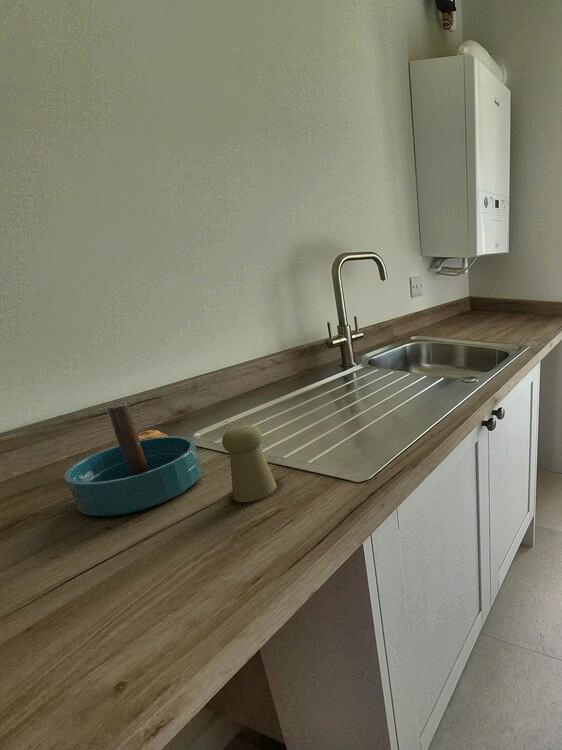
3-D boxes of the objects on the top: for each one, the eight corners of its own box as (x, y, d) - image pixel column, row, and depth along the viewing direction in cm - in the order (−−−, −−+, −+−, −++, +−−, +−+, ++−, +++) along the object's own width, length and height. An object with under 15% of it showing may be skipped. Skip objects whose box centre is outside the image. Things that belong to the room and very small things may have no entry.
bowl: (55, 507, 62) (41, 472, 60) (166, 460, 75) (157, 431, 73) (117, 530, 57) (103, 493, 55) (224, 475, 70) (215, 444, 68)
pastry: (173, 459, 76) (167, 441, 74) (124, 472, 71) (117, 453, 70) (171, 442, 82) (166, 425, 81) (126, 453, 78) (120, 435, 77)
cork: (270, 476, 70) (257, 417, 66) (281, 491, 66) (268, 428, 62) (228, 491, 66) (212, 428, 62) (238, 507, 62) (221, 441, 58)
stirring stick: (130, 488, 65) (102, 407, 61) (147, 480, 67) (121, 401, 63) (140, 491, 64) (111, 409, 60) (157, 483, 66) (131, 403, 62)
